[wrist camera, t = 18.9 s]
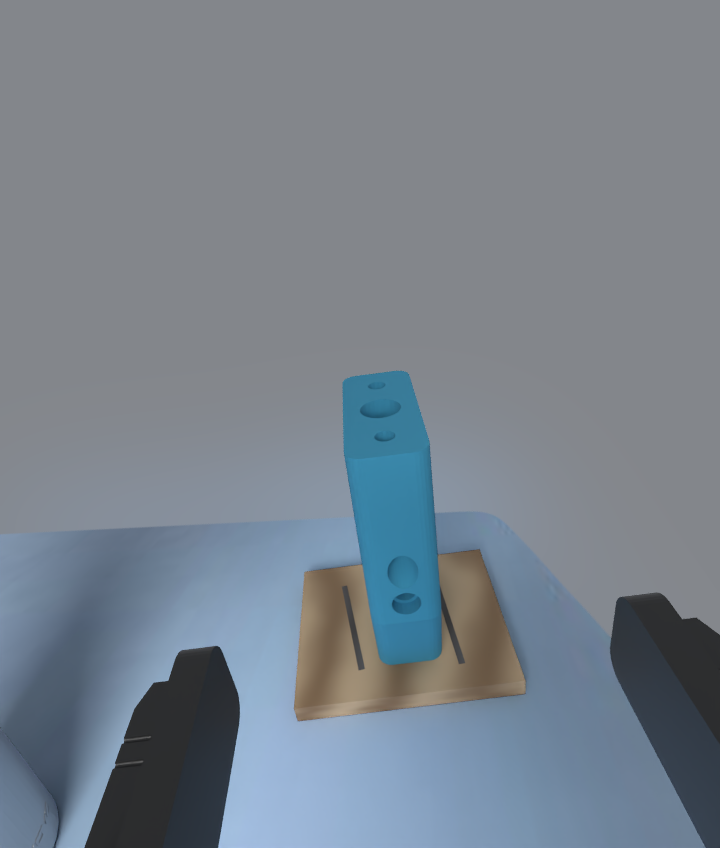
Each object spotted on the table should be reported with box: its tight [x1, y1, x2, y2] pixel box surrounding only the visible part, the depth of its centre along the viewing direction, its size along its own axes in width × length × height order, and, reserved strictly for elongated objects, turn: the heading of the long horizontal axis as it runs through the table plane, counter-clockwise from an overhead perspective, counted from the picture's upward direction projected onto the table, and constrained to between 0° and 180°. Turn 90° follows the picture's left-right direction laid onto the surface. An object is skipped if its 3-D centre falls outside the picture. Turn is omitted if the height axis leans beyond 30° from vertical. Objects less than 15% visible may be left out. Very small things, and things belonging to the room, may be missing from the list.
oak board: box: [294, 549, 526, 721], centre depth 45 cm, size 17×14×2 cm
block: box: [343, 371, 442, 665], centre depth 40 cm, size 12×5×20 cm, turn 3°
